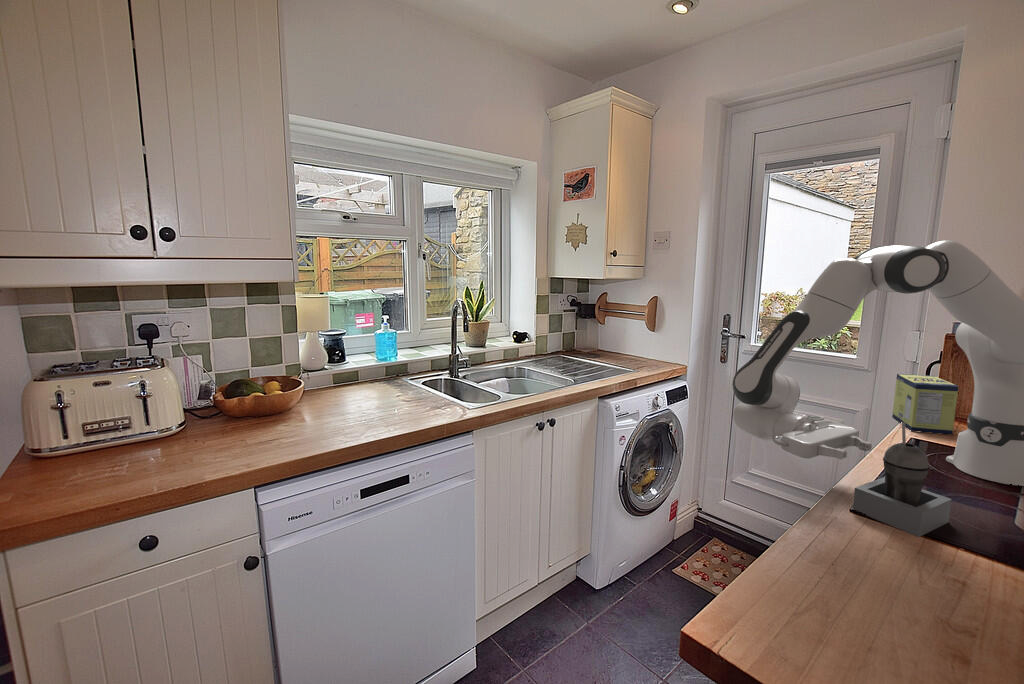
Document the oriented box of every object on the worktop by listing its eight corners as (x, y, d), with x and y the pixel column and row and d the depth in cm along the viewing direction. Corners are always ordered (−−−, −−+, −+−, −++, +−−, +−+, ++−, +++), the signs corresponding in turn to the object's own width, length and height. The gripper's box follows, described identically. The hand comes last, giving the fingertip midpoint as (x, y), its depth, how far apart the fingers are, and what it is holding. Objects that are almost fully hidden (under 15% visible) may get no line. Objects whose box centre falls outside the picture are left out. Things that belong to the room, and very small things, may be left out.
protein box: (929, 420, 154) (934, 375, 152) (953, 435, 140) (960, 386, 138) (890, 417, 158) (895, 373, 156) (910, 431, 144) (916, 383, 141)
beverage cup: (931, 527, 91) (944, 430, 88) (889, 523, 92) (900, 428, 89) (908, 508, 98) (919, 418, 95) (869, 505, 99) (879, 416, 96)
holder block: (882, 497, 102) (884, 476, 102) (948, 522, 92) (951, 499, 91) (852, 509, 98) (854, 487, 97) (918, 537, 87) (921, 512, 87)
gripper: (769, 426, 109) (830, 446, 96) (822, 414, 117) (884, 430, 105) (767, 452, 110) (827, 474, 97) (819, 437, 118) (881, 456, 106)
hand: (857, 451), depth 101 cm, fingers open, 8 cm apart
